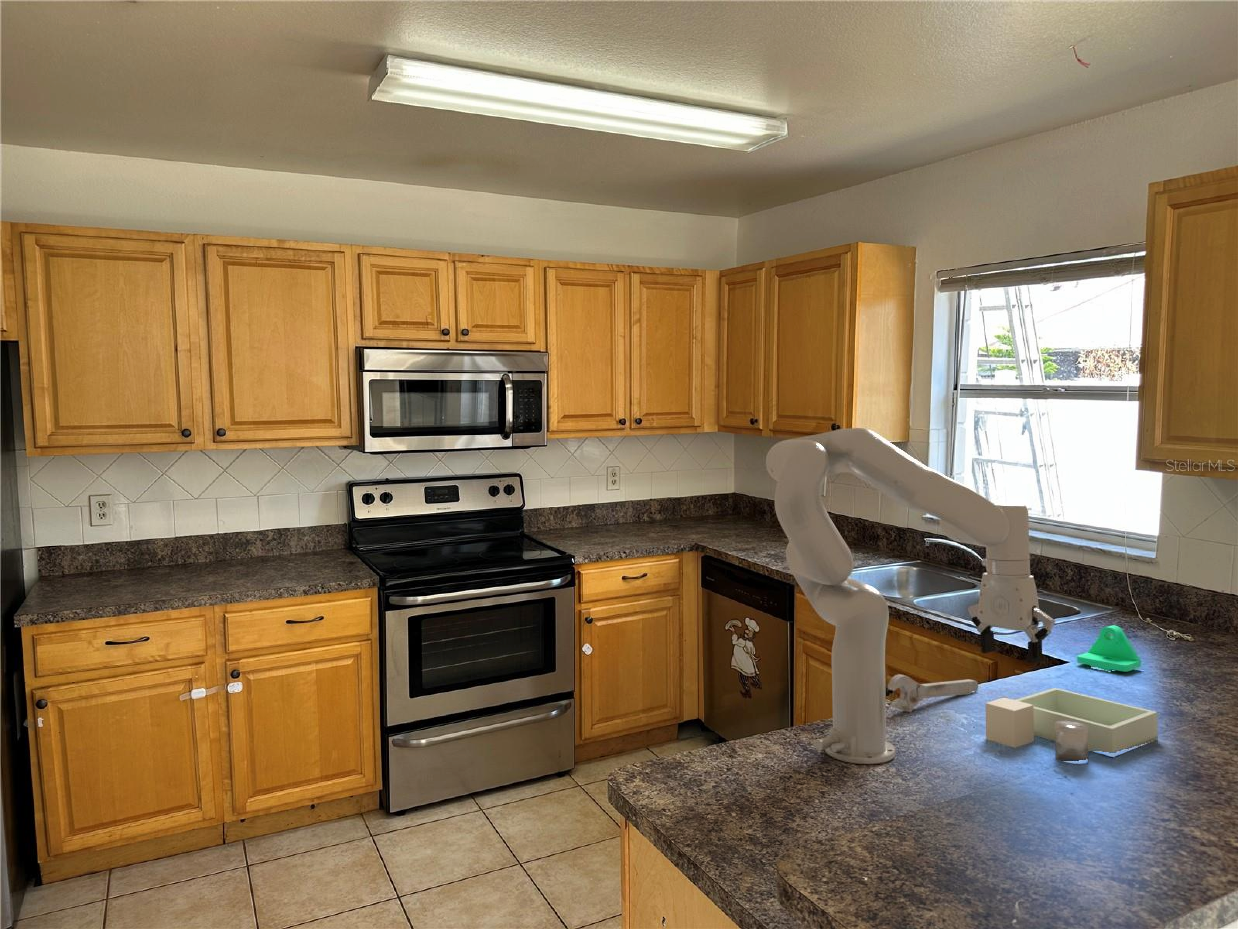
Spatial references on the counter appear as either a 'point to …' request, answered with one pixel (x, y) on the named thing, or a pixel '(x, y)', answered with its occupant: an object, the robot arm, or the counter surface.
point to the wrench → (926, 690)
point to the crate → (1093, 719)
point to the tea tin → (1071, 741)
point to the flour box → (1009, 722)
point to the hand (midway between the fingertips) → (1010, 656)
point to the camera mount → (1111, 652)
